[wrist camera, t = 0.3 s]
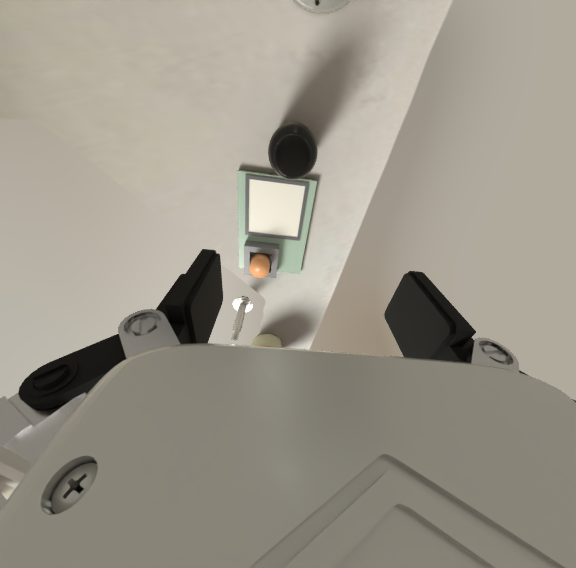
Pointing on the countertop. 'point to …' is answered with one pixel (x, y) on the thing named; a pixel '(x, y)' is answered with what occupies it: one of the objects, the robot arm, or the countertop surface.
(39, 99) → the countertop surface
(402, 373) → the robot arm
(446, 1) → the countertop surface
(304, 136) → the supplement bottle
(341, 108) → the countertop surface
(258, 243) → the mint green tray
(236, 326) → the screw
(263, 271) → the button
